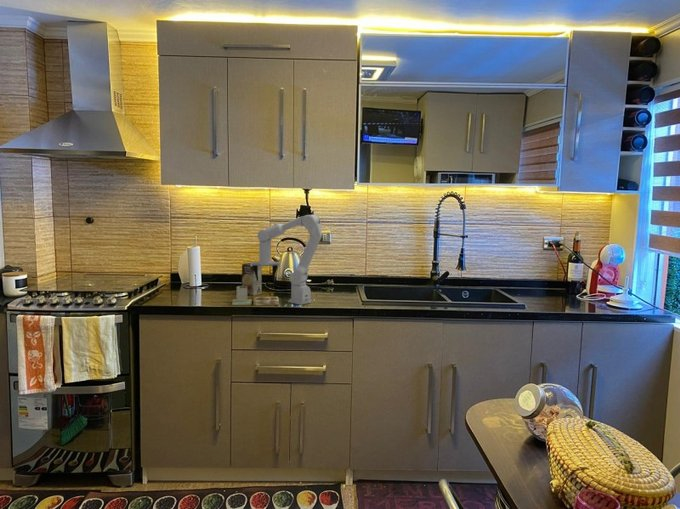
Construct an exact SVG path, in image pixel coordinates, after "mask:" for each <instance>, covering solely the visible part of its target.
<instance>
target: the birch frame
mask: <svg viewBox="0 0 680 509" xmlns="http://www.w3.org/2000/svg"><path fill="white" fill-rule="evenodd" d="M279 302H280V301H279V297H278V296H254V297H253V306H279V305H280V303H279Z"/></svg>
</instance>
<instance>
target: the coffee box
mask: <svg viewBox="0 0 680 509" xmlns="http://www.w3.org/2000/svg"><path fill="white" fill-rule="evenodd" d="M262 267H263V266H258V281H257V279H256V275H255V272H254V270H253V266H250V262H247V263H241V286H247V295H248V294H249V296H257V295H261V294H262V272H263V271H262Z"/></svg>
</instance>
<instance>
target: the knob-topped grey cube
mask: <svg viewBox="0 0 680 509" xmlns="http://www.w3.org/2000/svg"><path fill="white" fill-rule="evenodd" d="M247 299H248V294H247V286H242V285H238V286H236V300H237V303H239V302H247Z"/></svg>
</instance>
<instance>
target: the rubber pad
mask: <svg viewBox="0 0 680 509" xmlns="http://www.w3.org/2000/svg"><path fill="white" fill-rule="evenodd" d="M231 305H232V306H251V305H252V299H251V298H250V299H249V298H247V302H239V303H237V299H232V303H231Z"/></svg>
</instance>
